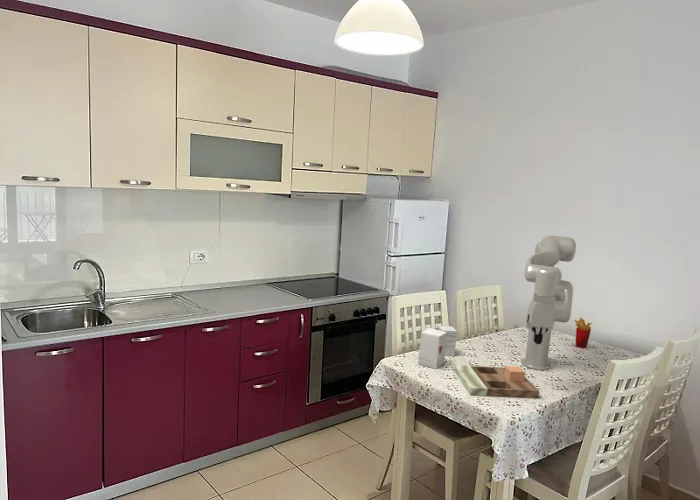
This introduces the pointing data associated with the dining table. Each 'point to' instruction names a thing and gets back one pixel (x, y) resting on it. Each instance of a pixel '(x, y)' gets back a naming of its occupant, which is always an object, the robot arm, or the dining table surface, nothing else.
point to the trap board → (493, 382)
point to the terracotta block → (514, 373)
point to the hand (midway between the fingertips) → (537, 343)
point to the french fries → (582, 333)
